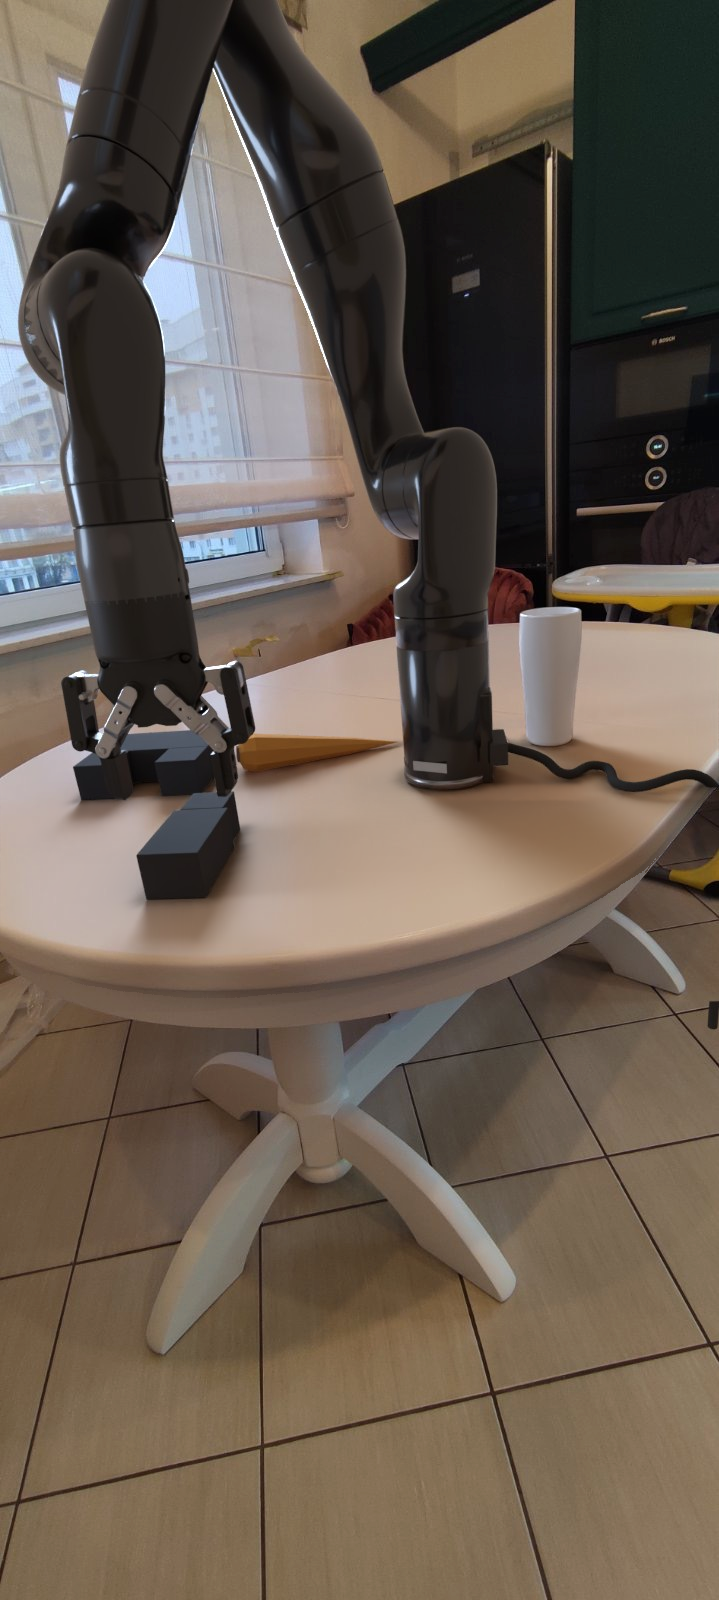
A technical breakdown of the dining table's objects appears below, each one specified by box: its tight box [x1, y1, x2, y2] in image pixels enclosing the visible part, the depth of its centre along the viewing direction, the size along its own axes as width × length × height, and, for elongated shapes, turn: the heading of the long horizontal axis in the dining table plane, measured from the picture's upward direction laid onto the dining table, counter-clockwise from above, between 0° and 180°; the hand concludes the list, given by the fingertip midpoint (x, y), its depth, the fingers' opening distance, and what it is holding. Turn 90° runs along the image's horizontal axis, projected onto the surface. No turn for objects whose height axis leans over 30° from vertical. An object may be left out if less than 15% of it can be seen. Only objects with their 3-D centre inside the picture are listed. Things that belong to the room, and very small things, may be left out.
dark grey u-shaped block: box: [72, 729, 214, 801], centre depth 85 cm, size 14×12×4 cm
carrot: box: [235, 733, 398, 773], centre depth 87 cm, size 20×4×4 cm, turn 106°
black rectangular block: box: [135, 790, 241, 900], centre depth 63 cm, size 5×13×4 cm, turn 175°
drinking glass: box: [518, 606, 583, 747], centre depth 83 cm, size 7×7×15 cm
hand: (175, 795), depth 59 cm, fingers open, 8 cm apart
